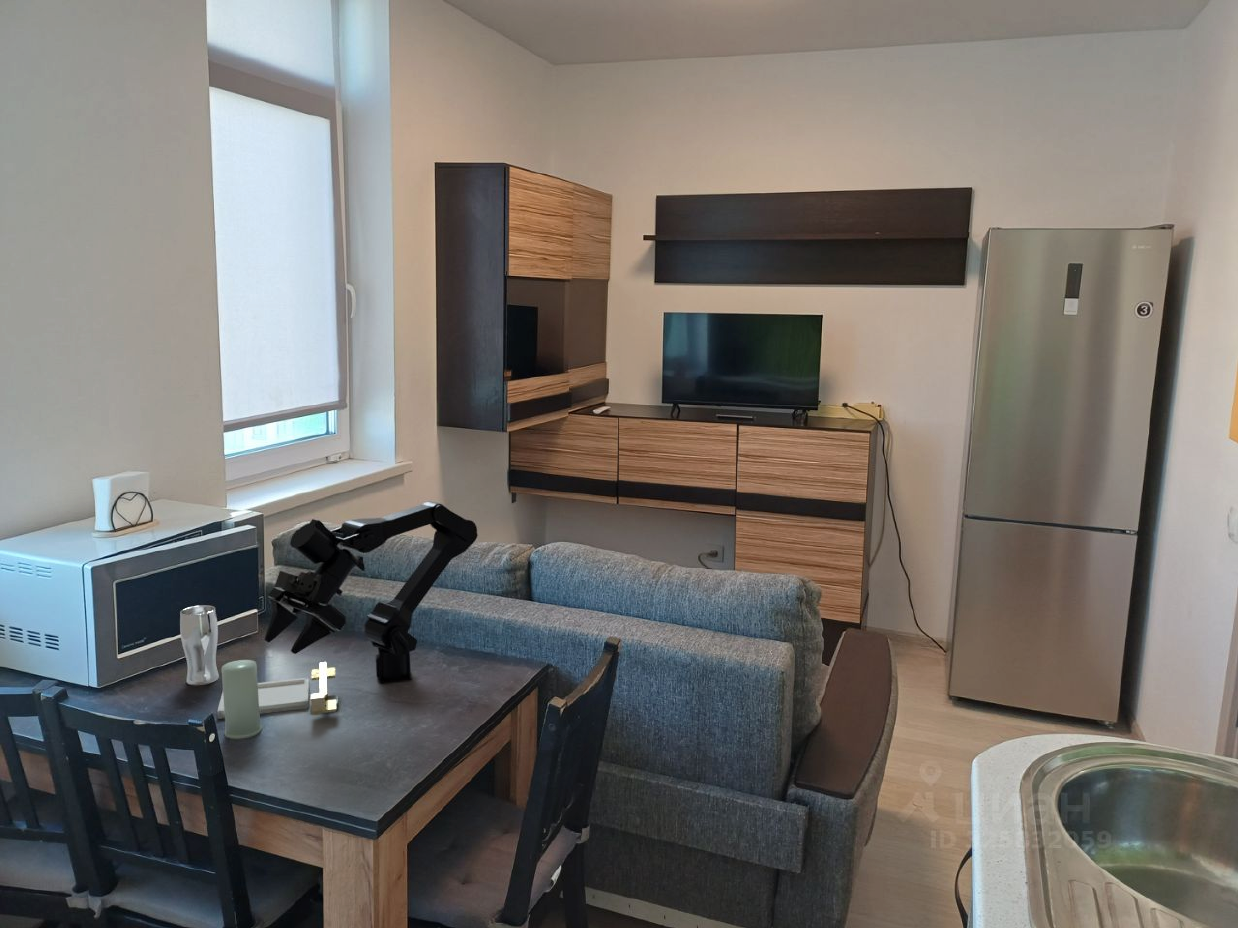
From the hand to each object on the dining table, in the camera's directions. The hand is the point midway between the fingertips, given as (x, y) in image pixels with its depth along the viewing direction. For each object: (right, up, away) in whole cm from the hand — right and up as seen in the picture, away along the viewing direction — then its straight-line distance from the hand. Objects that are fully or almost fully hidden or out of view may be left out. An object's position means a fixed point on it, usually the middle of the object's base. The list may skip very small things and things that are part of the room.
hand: (279, 646), depth 169 cm
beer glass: (-23, -11, +19) cm, 32 cm away
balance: (+6, -13, +7) cm, 16 cm away
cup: (-5, -15, -4) cm, 16 cm away
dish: (-6, -12, +9) cm, 16 cm away
